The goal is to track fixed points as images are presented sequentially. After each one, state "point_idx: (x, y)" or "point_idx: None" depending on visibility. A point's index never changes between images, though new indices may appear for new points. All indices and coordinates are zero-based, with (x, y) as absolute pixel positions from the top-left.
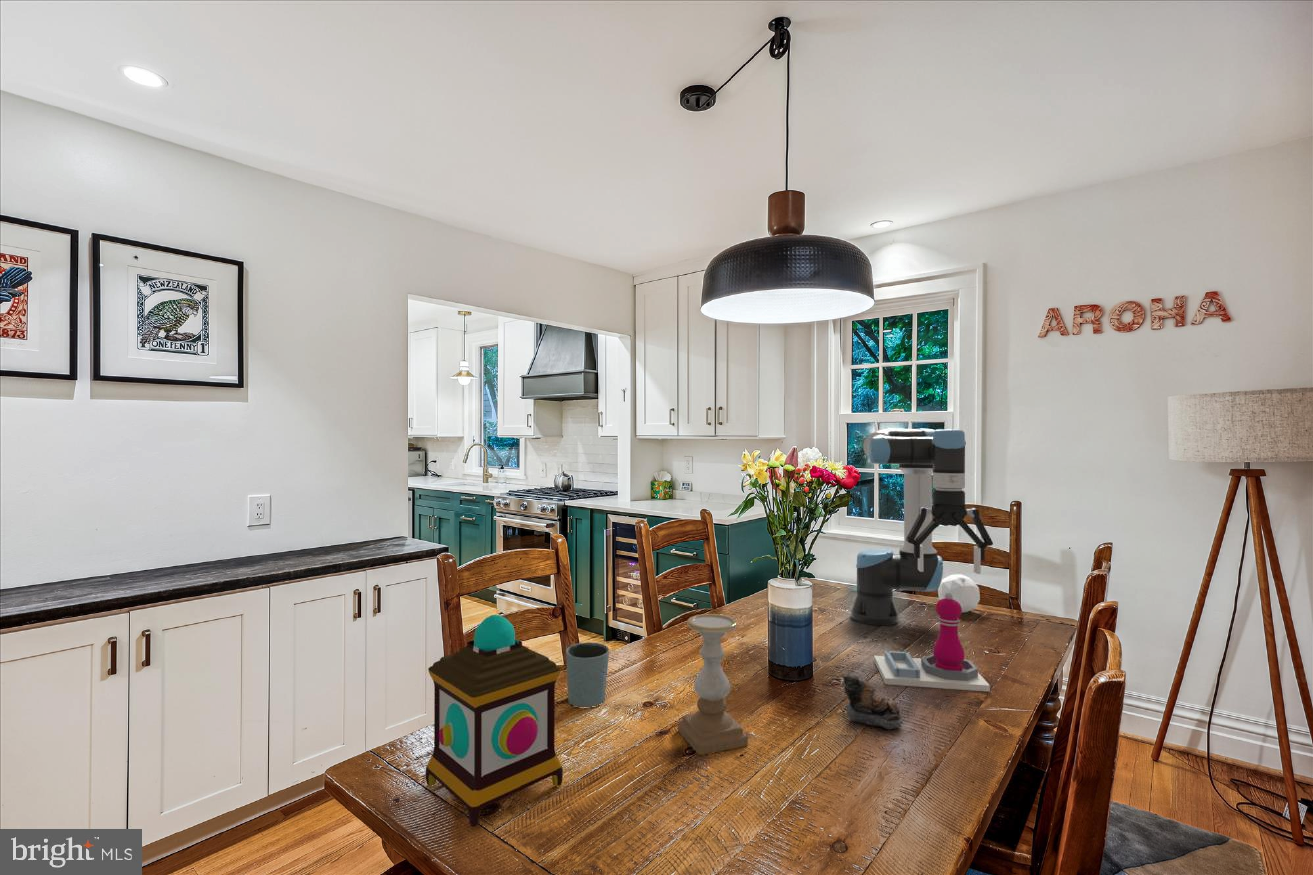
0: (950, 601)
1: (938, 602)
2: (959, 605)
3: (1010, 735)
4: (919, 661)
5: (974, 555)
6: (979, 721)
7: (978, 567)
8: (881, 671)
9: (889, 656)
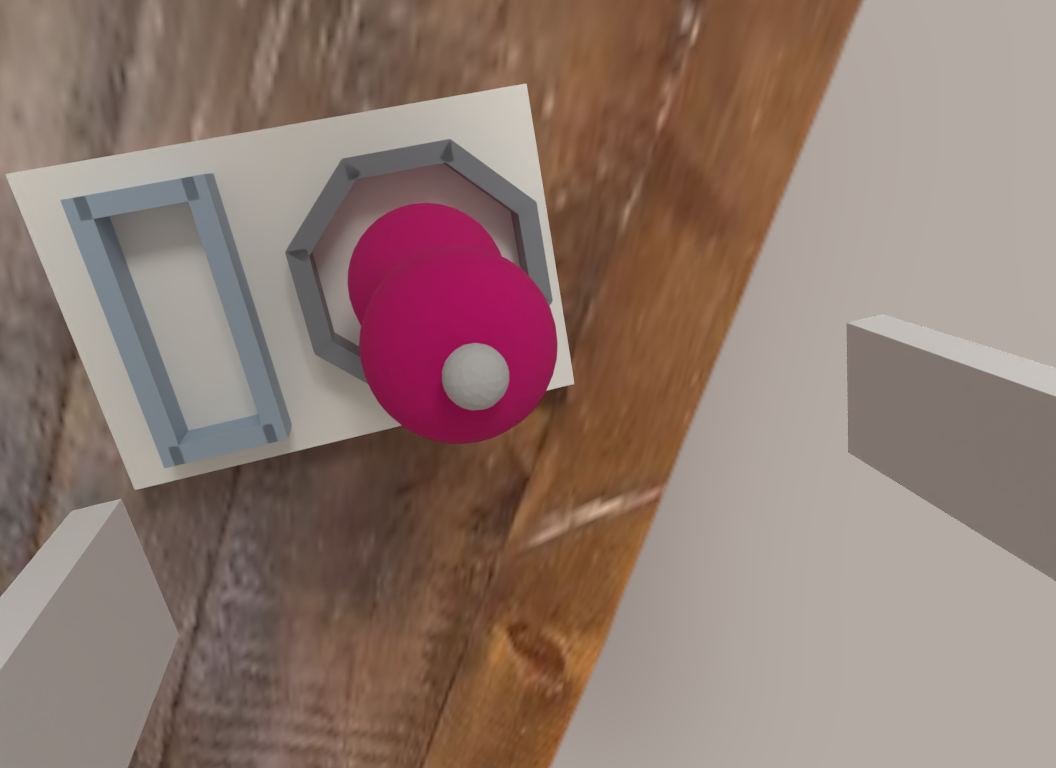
0: (480, 416)
1: (380, 380)
2: (545, 386)
3: (566, 691)
4: (277, 180)
5: (1051, 429)
6: (493, 644)
7: (919, 484)
8: (99, 396)
9: (107, 295)
